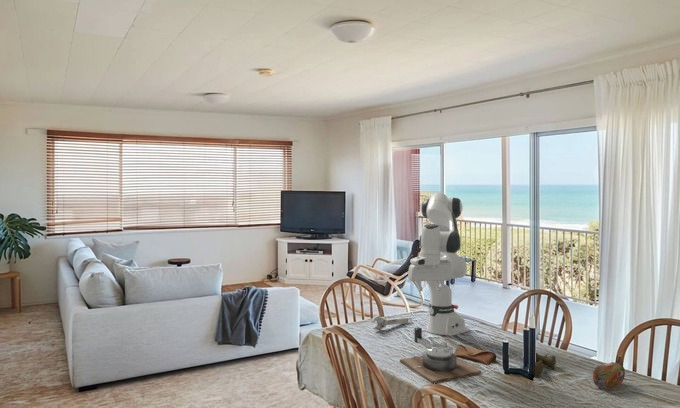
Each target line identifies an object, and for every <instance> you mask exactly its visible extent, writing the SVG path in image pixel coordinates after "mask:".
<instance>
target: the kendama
mask: <svg viewBox="0 0 680 408" xmlns="http://www.w3.org/2000/svg"><path fill="white" fill-rule="evenodd" d="M556 361H557V359H556V356H555V355H549V356H548V354H545V355H541V354H539V353H538V352H536V362H535V376H534V377H536V378H537V377H538V378H539V377H540V376H541V375H542V372H543V370H544V367H543V366H546V367H548V368H550V369H551V370H554V369H555V367H556V363H557V362H556Z"/></svg>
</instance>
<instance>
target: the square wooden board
mask: <svg viewBox="0 0 680 408" xmlns="http://www.w3.org/2000/svg"><path fill="white" fill-rule="evenodd" d="M399 362H400V363H401V364H402V365H404V366H405V367H407V368H408V369H410V370H412V372H414V373H416V374H417V375H419V376H420V377H421V378H423V379H424V380H426V381H428V382H429V383H431V384H432V383H433V384H436V383H442V382H447V381H451V380H455V379H462V378H466V377H470V376H474V375H480V374H482V370H481V369H478V368H477V367H475V366H473V365H471V364H469V363H468V362H466V361H463V360H462V359H461V358H459V357H456V355H455V354H454V353H453V357H452V358H451V359H448V360H436V359H432V358H429V357H428V356H427V355H426V351H424V352H422V355H419V356H418V355H417V356H413V357H408V358H401V359H399Z"/></svg>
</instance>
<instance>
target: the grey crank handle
mask: <svg viewBox="0 0 680 408" xmlns="http://www.w3.org/2000/svg"><path fill="white" fill-rule="evenodd" d="M422 331H423V329H422V328H421V327H415V328H414V340H413V341H414V343H416V344H420V345H421V346H424V347H425V352H426V355H427V356H428V357H429V358H432V359H436V360H448V359H451V358H452V357H453V354H454V346H453V345H450V344H447V342H446V341H442V342H440V343H437V342H436V341H430V340H429V339H426V338H425V337H423V335H422V333H423V332H422Z"/></svg>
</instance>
